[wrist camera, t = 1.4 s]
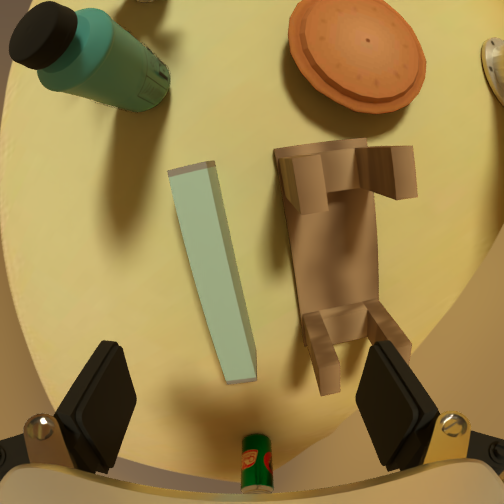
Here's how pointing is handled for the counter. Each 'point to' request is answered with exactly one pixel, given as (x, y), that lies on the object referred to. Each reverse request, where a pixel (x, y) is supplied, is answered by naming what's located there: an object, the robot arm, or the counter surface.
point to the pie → (357, 53)
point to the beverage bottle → (89, 57)
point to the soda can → (256, 465)
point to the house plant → (145, 0)
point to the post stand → (341, 243)
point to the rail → (214, 267)
